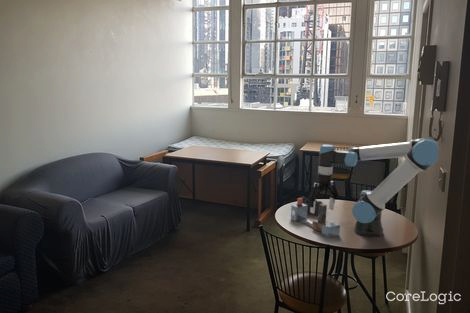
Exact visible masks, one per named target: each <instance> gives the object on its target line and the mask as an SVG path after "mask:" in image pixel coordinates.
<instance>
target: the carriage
mask: <svg viewBox="0 0 470 313" xmlns="http://www.w3.org/2000/svg"><path fill="white" fill-rule="evenodd" d="M327 210H328V204H325V203H322V204H319V211H318V216H317V219H314V220H312V222H313V223H312V225H313V228H312V229H313V230H315V231H318V232H319V233H321V234H322V224H327V223H329V222H328V221H327V220H326V218H327Z"/></svg>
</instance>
